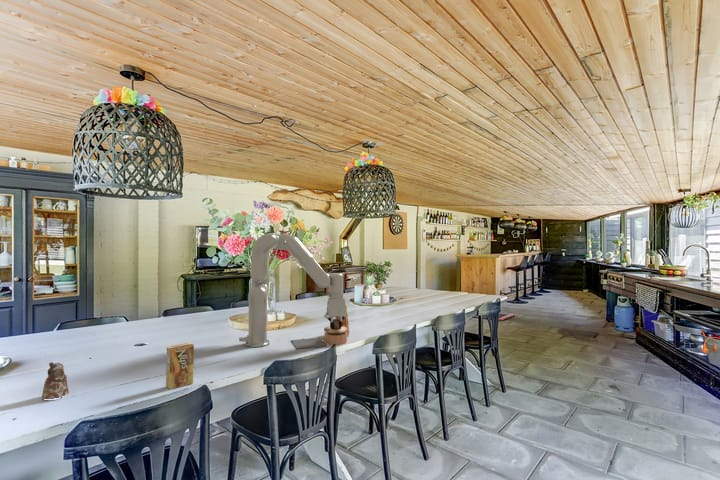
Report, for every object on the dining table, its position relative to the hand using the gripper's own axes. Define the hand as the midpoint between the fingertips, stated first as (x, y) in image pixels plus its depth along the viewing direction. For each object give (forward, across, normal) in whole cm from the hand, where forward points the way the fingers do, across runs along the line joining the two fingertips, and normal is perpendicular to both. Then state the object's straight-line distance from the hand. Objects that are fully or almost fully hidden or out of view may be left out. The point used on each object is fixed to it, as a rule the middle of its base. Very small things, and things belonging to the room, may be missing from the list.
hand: (335, 328), depth 207 cm
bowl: (+7, 0, 0) cm, 7 cm away
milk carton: (+8, +8, +14) cm, 18 cm away
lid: (+1, 0, 0) cm, 1 cm away
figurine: (+8, -115, -35) cm, 120 cm away
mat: (+7, -15, +1) cm, 17 cm away
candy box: (+8, -75, -38) cm, 84 cm away
